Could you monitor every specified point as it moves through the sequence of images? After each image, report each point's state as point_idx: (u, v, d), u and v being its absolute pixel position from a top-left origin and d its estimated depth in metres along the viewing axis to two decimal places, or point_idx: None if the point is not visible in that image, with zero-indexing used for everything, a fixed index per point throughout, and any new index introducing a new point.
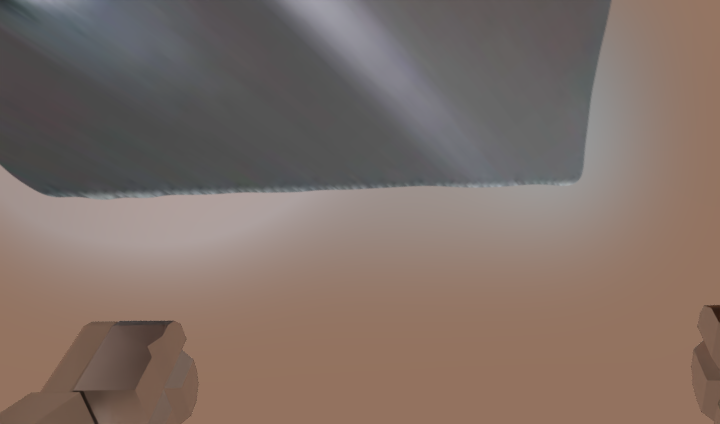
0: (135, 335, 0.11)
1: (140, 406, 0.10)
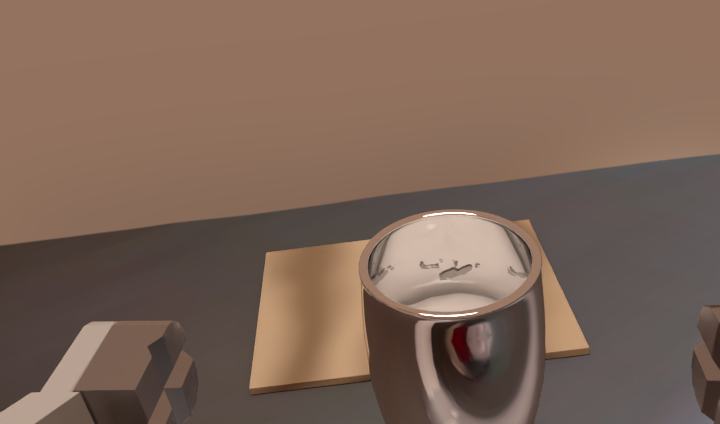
0: (135, 335, 0.11)
1: (140, 406, 0.10)
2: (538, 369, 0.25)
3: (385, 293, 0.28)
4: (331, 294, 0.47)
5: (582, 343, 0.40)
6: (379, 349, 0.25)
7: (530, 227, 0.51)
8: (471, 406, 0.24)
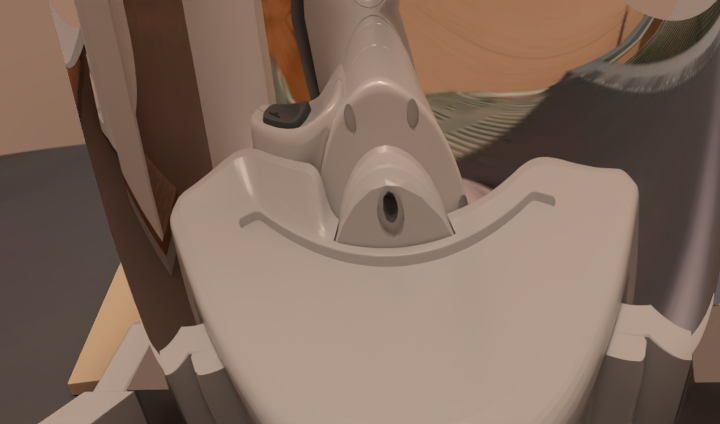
0: None
1: None
2: (713, 287, 0.07)
3: None
4: None
5: None
6: (110, 204, 0.06)
7: None
8: None
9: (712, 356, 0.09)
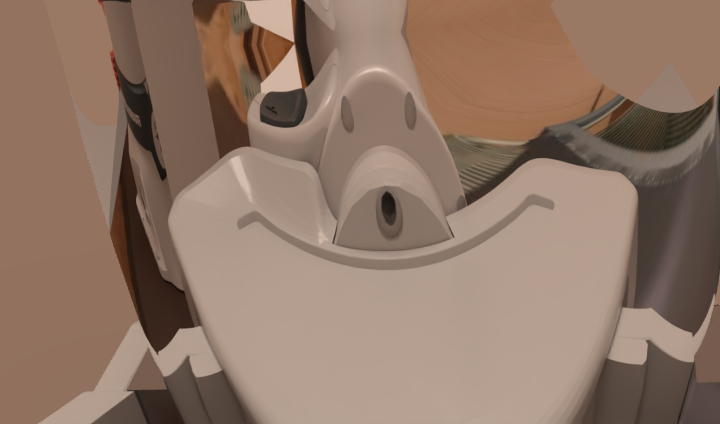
0: None
1: None
2: (713, 296, 0.07)
3: None
4: None
5: None
6: (112, 220, 0.06)
7: None
8: None
9: (713, 355, 0.09)
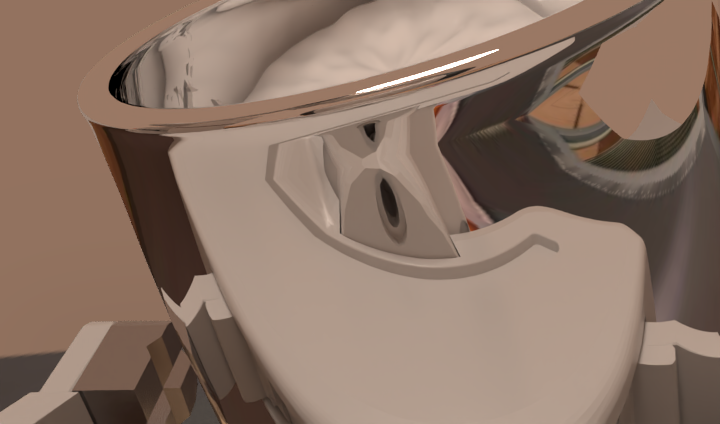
0: (134, 335, 0.11)
1: (139, 406, 0.10)
2: None
3: None
4: None
5: None
6: (175, 319, 0.07)
7: None
8: None
9: None
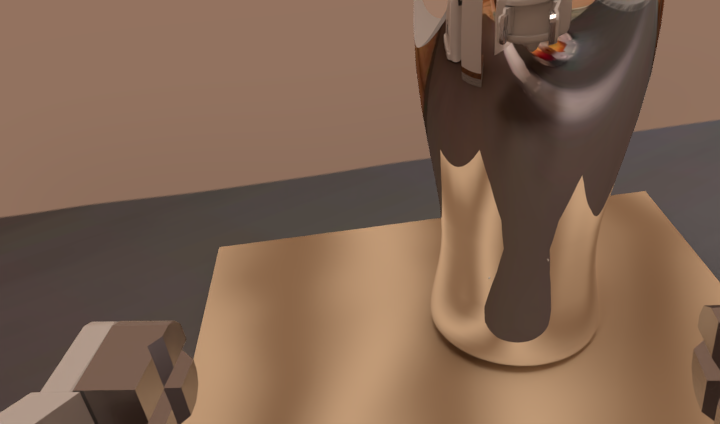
0: (135, 335, 0.11)
1: (140, 406, 0.10)
2: (657, 26, 0.18)
3: None
4: (323, 317, 0.27)
5: None
6: None
7: (651, 203, 0.31)
8: (573, 49, 0.17)
9: None
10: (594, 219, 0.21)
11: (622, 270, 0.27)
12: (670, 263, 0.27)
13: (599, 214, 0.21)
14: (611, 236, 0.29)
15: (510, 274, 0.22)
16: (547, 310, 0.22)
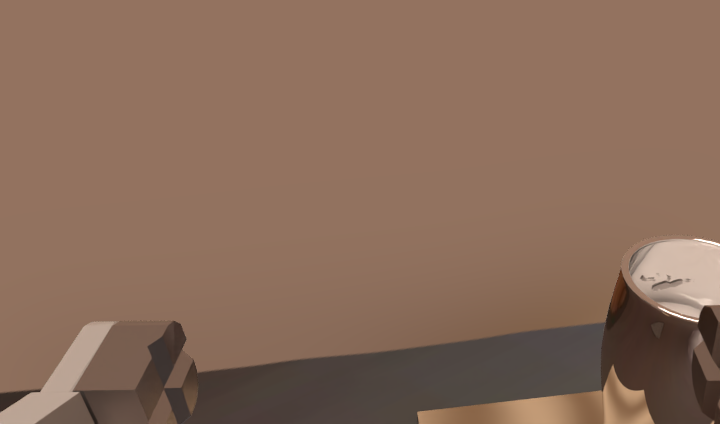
0: (135, 335, 0.11)
1: (140, 406, 0.10)
2: None
3: None
4: None
5: None
6: (643, 347, 0.31)
7: None
8: None
9: None
10: None
11: None
12: None
13: None
14: None
15: None
16: None
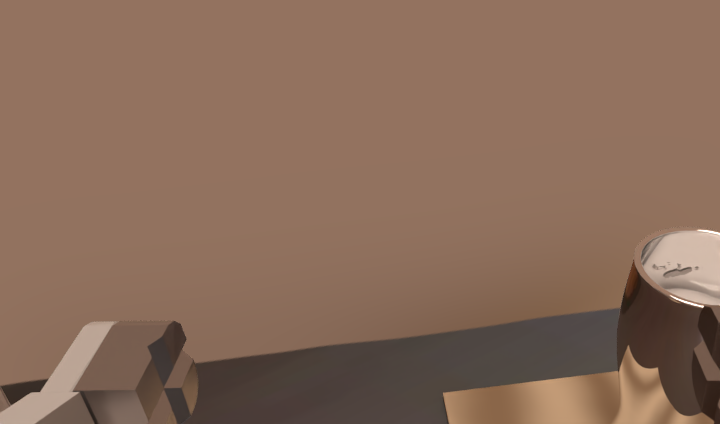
0: (135, 335, 0.11)
1: (140, 406, 0.10)
2: None
3: None
4: None
5: None
6: (654, 330, 0.34)
7: None
8: None
9: None
10: None
11: None
12: None
13: None
14: None
15: None
16: None
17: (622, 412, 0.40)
